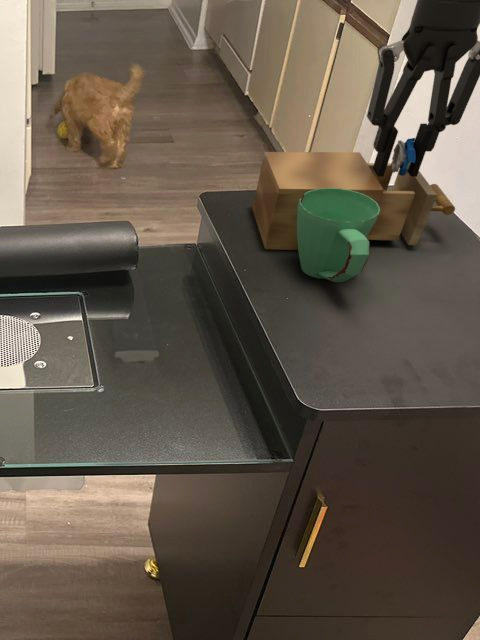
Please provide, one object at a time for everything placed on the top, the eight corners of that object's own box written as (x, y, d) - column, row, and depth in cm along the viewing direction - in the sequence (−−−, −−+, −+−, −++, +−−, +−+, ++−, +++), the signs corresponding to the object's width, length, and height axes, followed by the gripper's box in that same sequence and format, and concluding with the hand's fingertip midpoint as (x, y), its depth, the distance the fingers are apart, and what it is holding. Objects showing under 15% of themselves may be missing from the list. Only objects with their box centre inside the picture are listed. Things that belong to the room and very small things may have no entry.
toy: (409, 182, 101) (420, 147, 98) (381, 181, 102) (391, 146, 99) (405, 167, 104) (415, 133, 101) (378, 166, 105) (387, 132, 102)
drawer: (422, 208, 112) (441, 160, 106) (448, 245, 103) (470, 195, 98) (308, 206, 114) (321, 159, 109) (325, 243, 105) (339, 193, 100)
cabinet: (342, 210, 114) (359, 152, 108) (363, 251, 105) (384, 189, 99) (252, 209, 116) (264, 151, 110) (264, 249, 107) (279, 188, 101)
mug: (274, 252, 106) (289, 189, 99) (343, 250, 105) (363, 186, 99) (305, 310, 95) (325, 242, 88) (383, 308, 94) (409, 239, 88)
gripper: (391, -1, 86) (338, 183, 101) (546, -6, 84) (468, 184, 99) (373, -16, 92) (326, 161, 107) (518, -20, 89) (448, 161, 105)
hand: (394, 172), depth 103 cm, fingers closed on toy, 4 cm apart
